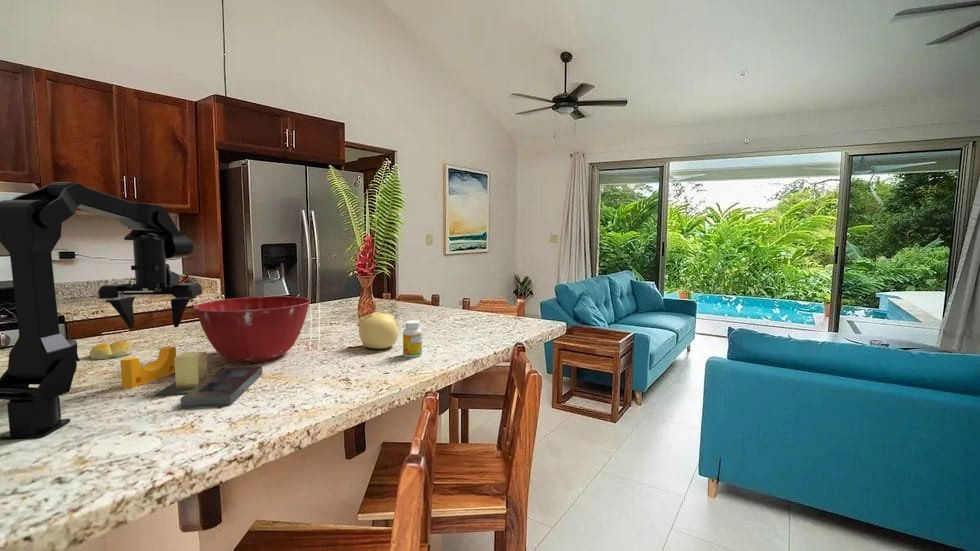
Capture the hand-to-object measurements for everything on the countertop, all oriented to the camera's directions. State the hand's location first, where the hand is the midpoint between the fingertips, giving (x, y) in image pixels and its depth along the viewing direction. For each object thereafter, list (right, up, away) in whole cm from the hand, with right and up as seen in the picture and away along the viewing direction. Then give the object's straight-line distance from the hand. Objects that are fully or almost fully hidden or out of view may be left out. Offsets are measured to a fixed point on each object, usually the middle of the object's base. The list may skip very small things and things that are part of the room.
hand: (154, 327), depth 102 cm
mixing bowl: (+12, -11, +22) cm, 28 cm away
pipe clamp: (-3, -13, +2) cm, 13 cm away
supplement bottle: (+55, -11, +25) cm, 62 cm away
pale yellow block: (+11, -13, -3) cm, 17 cm away
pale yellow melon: (+44, -10, +34) cm, 56 cm away
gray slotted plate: (+19, -13, -4) cm, 24 cm away
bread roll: (-28, -11, +22) cm, 37 cm away
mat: (+11, -13, -3) cm, 17 cm away
